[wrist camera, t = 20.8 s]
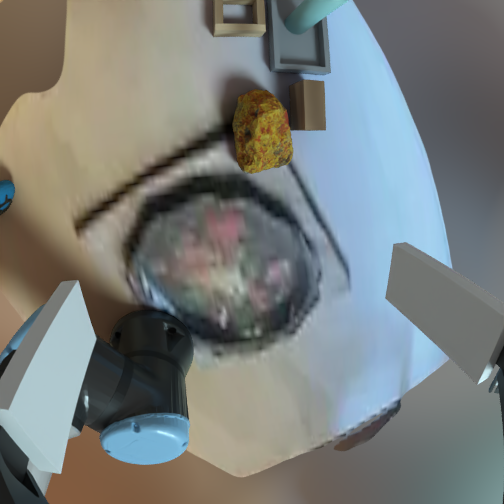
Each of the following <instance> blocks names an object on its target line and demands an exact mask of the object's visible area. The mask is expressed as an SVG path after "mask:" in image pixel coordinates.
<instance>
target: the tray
mask: <svg viewBox="0 0 504 504" xmlns="http://www.w3.org/2000/svg"><path fill="white" fill-rule="evenodd" d="M303 1H304V0H267V15H268V33H269V53H270V72H288V73H303V74H315V75H326V74H329V73H331V69H330V53H329V40H328V28H327V18H326V17H324V18H323V19H322V20H320V21H319V22H318V23H316V24H315V25H314V26H312V27H311V28H310V29H308V30H307V31H306V32H304V33H303V34H300V35H296V34H293V33H291V32H289V31H288V30H287V29H286V27H285V20H286V18H287V17H288V16H289V15H290V14H291V13H292V12H293V11H294V10H295V9H296V8H297V7H298V6H299V5H300V4H301V3H302V2H303Z"/></svg>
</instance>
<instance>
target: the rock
mask: <svg viewBox="0 0 504 504" xmlns="http://www.w3.org/2000/svg"><path fill="white" fill-rule="evenodd" d="M237 101H238V105H237V107H236V110H235V115H234V120H233V124H232V127H233V132H234V135H235V149H236V154H237V162H238V165H239V167H240V168H241V170H242V171H243V172H245V173H250V174H253V173H257V172H261V171H262V170H267V169H270V168H272V167H274V168H278V167H280V166H283V165H287V164H289V162H290V161H291V159H292V156H293V147H292V139H291V132H290V126H289V120H288V114H287V110H286V109H285V107H283V105H282V104H281V103H280V101H279V100H278V99H277V98H276V97H275V96H274V95H273V94H271V93H269V92H268V91H267V90H265V91H262V90H257V89H254V90H252V91H249V92H247V93H246V94H245V95H240V96H239V97H238V100H237Z"/></svg>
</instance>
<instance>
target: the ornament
mask: <svg viewBox="0 0 504 504" xmlns="http://www.w3.org/2000/svg"><path fill="white" fill-rule="evenodd" d="M14 193H15V187H14V184H13V183H12V182H11V181H9V180H3V181H0V215H1V214H3V213H4V212H5V211H6V210H7V209H8V208H9V206H10V205H11V203H12V199H13V196H14Z"/></svg>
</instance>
